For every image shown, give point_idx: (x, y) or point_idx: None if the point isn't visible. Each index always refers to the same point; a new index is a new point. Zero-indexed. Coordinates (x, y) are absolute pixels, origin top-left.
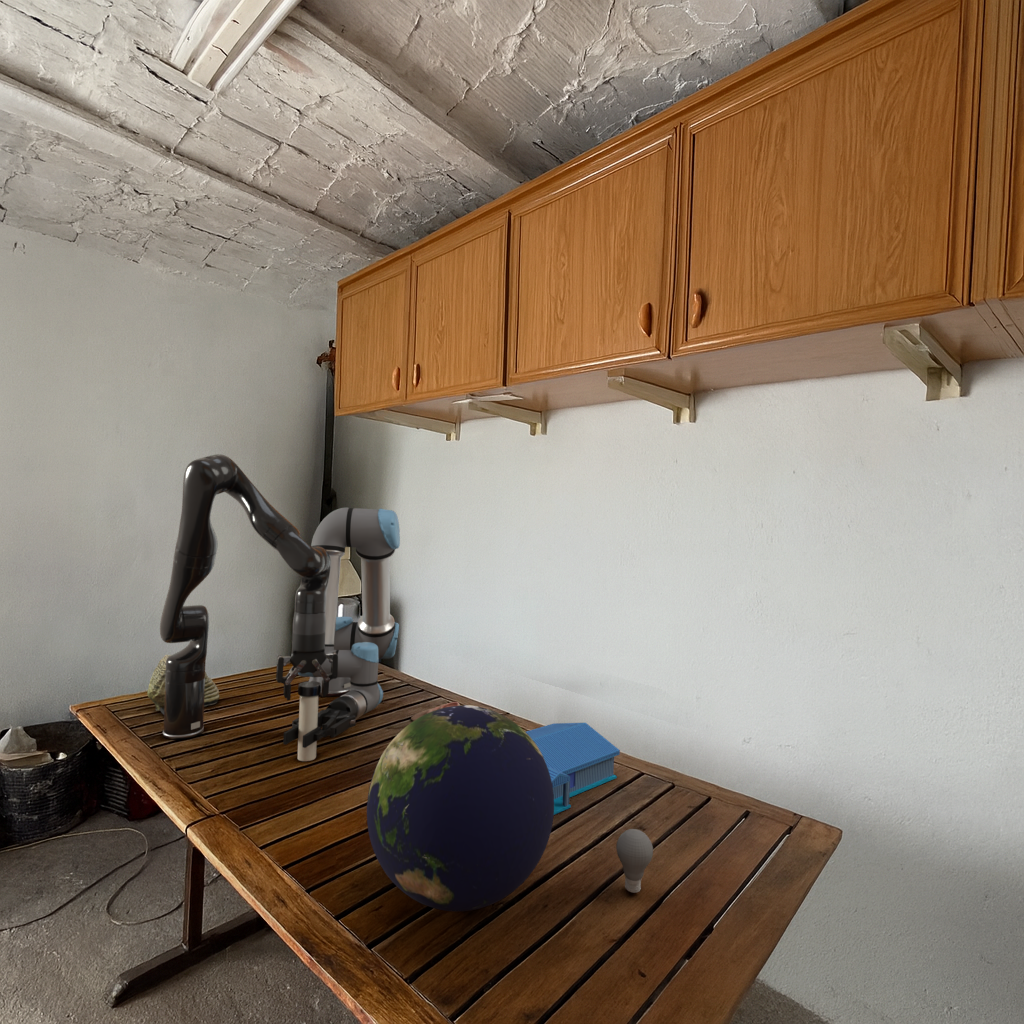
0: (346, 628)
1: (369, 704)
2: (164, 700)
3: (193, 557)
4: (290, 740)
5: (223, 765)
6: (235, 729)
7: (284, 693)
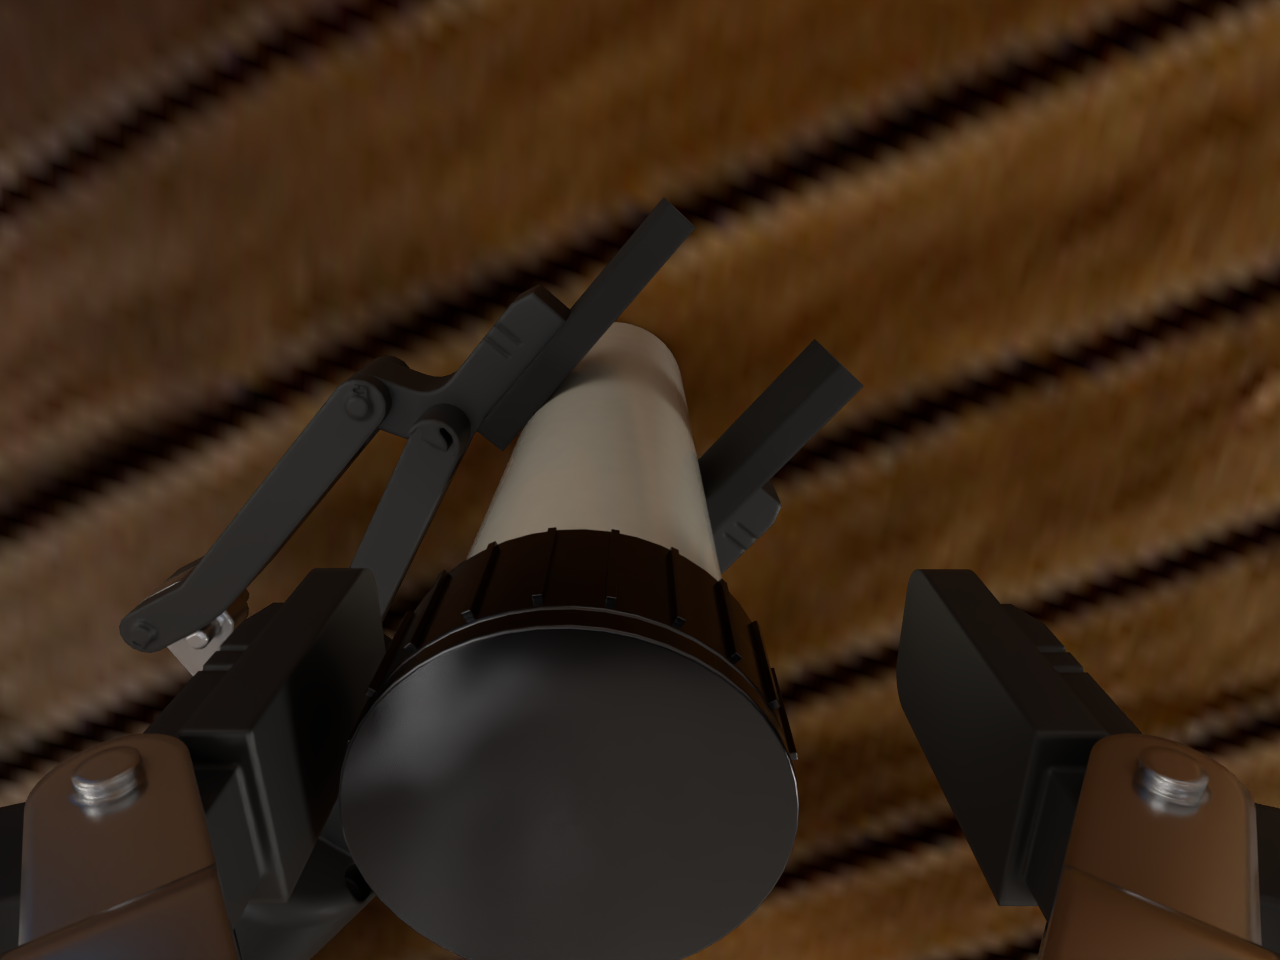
0: None
1: None
2: None
3: None
4: (770, 393)
5: (1165, 449)
6: (955, 942)
7: (1063, 653)
